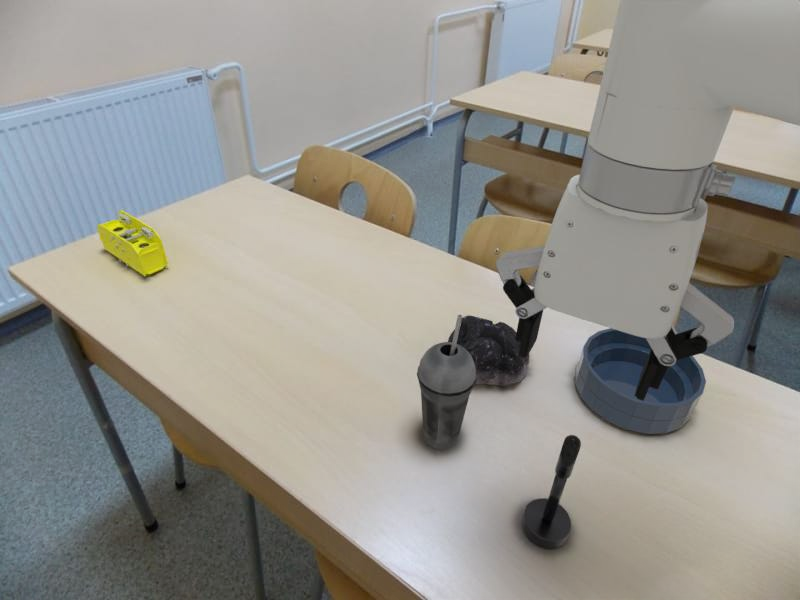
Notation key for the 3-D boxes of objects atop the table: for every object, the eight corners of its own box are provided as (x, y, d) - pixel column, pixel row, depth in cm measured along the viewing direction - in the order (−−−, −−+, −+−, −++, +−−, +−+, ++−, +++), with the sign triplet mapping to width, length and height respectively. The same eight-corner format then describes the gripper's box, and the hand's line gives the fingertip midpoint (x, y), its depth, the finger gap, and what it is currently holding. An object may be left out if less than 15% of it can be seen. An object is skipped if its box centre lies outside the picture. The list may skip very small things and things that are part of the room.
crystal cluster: (482, 327, 90) (481, 279, 84) (550, 360, 82) (555, 310, 76) (430, 368, 83) (425, 319, 77) (499, 409, 74) (499, 358, 69)
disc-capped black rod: (577, 540, 58) (613, 451, 49) (537, 556, 57) (567, 466, 47) (551, 501, 62) (580, 412, 53) (513, 514, 61) (536, 425, 51)
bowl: (716, 419, 73) (732, 388, 70) (622, 450, 68) (635, 419, 65) (636, 347, 85) (647, 318, 82) (553, 369, 81) (561, 340, 77)
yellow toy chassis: (172, 268, 102) (161, 231, 97) (144, 280, 99) (132, 242, 94) (130, 242, 110) (119, 206, 105) (104, 252, 107) (90, 215, 102)
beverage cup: (402, 431, 70) (406, 314, 59) (443, 407, 74) (454, 293, 62) (437, 468, 66) (449, 349, 54) (479, 440, 69) (498, 324, 57)
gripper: (791, 185, 33) (697, 377, 43) (530, 137, 40) (501, 313, 50) (797, 233, 28) (688, 440, 38) (495, 168, 35) (470, 358, 45)
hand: (581, 367), depth 44 cm, fingers open, 9 cm apart
